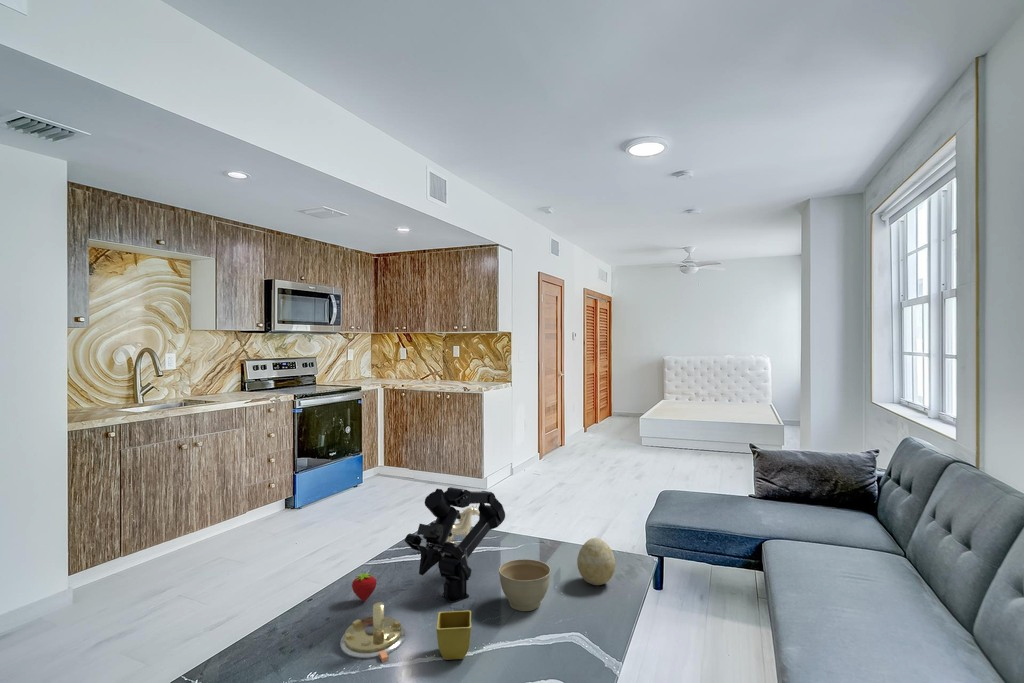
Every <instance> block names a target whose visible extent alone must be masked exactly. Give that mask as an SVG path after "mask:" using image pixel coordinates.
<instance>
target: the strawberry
mask: <svg viewBox="0 0 1024 683" xmlns="http://www.w3.org/2000/svg"><path fill="white" fill-rule="evenodd" d="M355 577H356V578H355V579H354V580H353V581H352V582H351V589H352V591H353V594H355V595H356V597H357V598H358V599H359V600H361V601H362V602H367V600H368V599H369V597H370V596H371V595H372V594H373V593H374V591H375V590H376V587H377V584H378V583H377V579H376V578H375V577H374V576H373V574H370V573H369V572H368V573H364V571H362V572H361V574H359V575H355Z"/></svg>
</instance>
